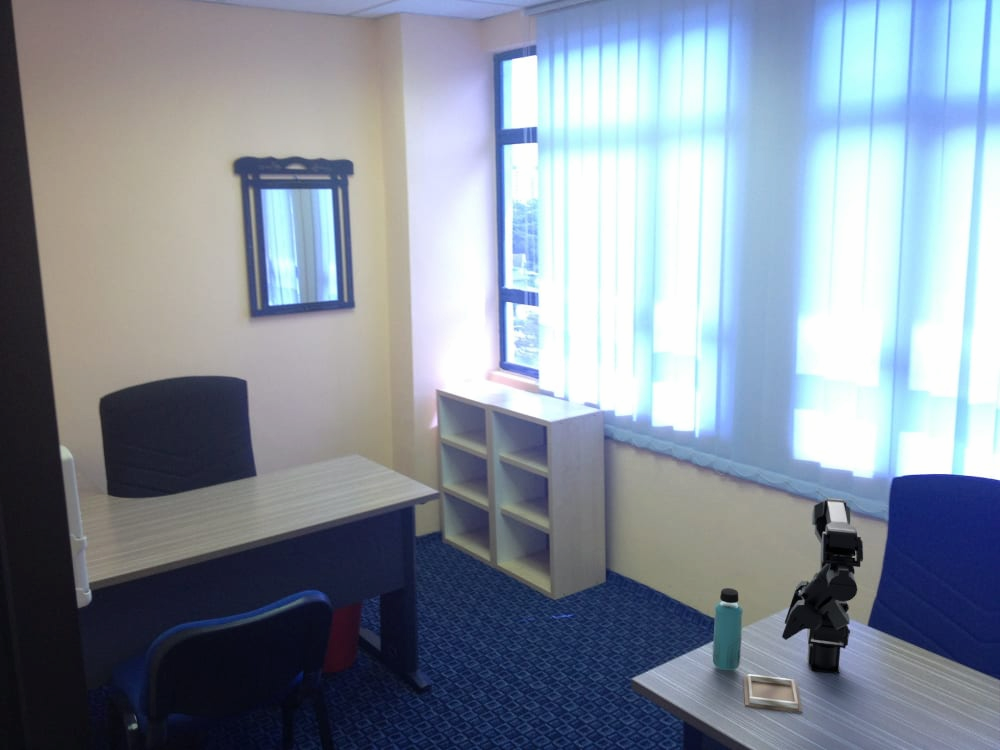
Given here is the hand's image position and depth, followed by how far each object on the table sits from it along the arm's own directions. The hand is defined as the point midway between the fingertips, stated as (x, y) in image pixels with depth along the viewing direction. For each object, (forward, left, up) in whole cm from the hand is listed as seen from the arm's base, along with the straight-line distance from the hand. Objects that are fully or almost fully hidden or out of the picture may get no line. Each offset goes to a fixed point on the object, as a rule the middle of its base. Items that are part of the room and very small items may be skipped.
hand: (785, 631), depth 204 cm
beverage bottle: (+12, -5, -14) cm, 19 cm away
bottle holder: (+2, +4, -14) cm, 15 cm away
